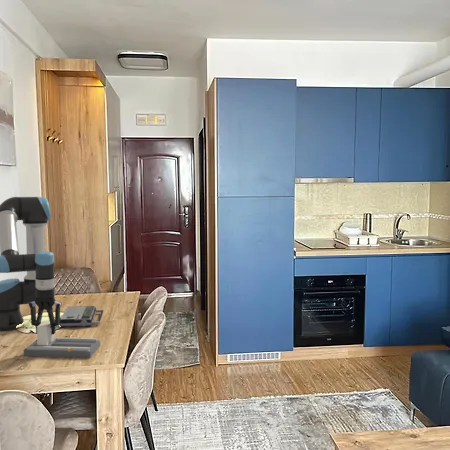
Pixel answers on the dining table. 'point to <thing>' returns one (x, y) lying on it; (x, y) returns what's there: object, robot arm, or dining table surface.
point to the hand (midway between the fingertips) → (45, 340)
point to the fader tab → (44, 334)
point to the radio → (79, 317)
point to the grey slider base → (65, 348)
